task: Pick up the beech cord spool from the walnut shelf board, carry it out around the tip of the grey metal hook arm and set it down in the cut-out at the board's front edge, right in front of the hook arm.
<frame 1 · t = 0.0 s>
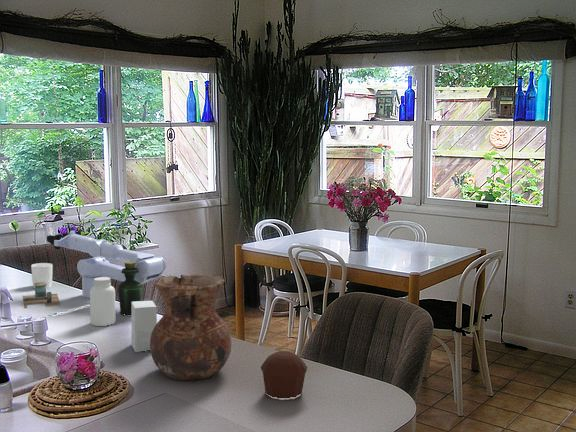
hand: (55, 237, 259), 22 cm above the kitchen counter, tool horizontal, fingers open, 7 cm apart
small box: (144, 348, 196), on the kitchen counter
potion bottle: (130, 314, 233), on the kitchen counter
jug: (191, 372, 177), on the kitchen counter
white cup: (42, 290, 265), on the kitchen counter
spool: (40, 298, 246), point 1 cm above the kitchen counter, touching hook board
muffin: (283, 394, 163), on the kitchen counter
pill bottle: (103, 324, 220), on the kitchen counter
hook board: (41, 304, 243), on the kitchen counter
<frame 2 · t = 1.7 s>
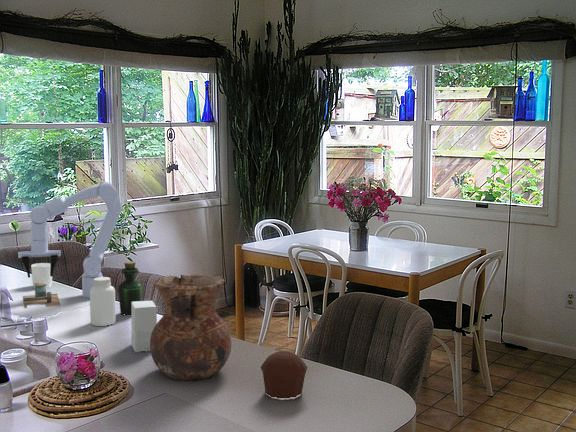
hand: (40, 276, 245), 9 cm above the kitchen counter, tool pointing down, fingers open, 7 cm apart
nothing on the kitchen counter moved.
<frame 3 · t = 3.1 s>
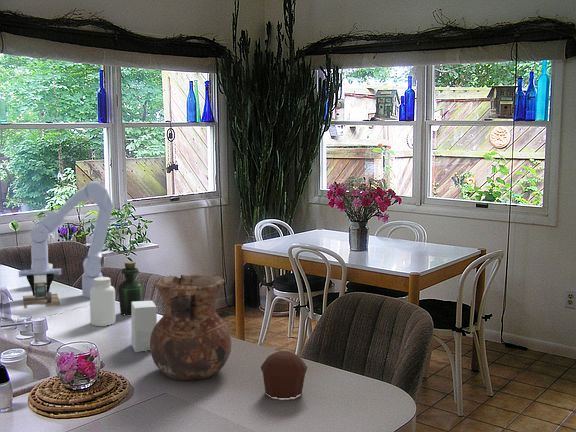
hand: (40, 294, 246), 3 cm above the kitchen counter, tool pointing down, fingers closed on spool, 4 cm apart
spool: (40, 298, 246), point 1 cm above the kitchen counter, touching gripper, hook board
everything else where it was.
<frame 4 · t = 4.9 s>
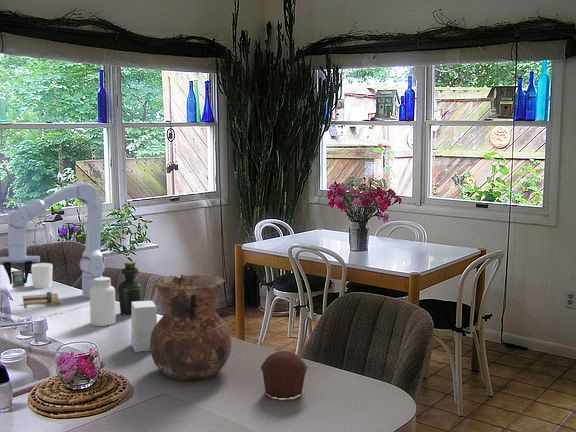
hand: (18, 283, 235), 9 cm above the kitchen counter, tool pointing down, fingers closed on spool, 4 cm apart
spool: (18, 287, 235), point 8 cm above the kitchen counter, touching gripper
everything else where it was.
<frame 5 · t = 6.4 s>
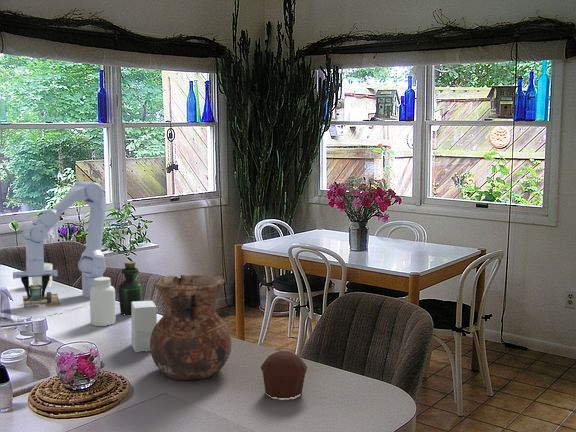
hand: (35, 297, 235), 4 cm above the kitchen counter, tool pointing down, fingers closed on spool, 4 cm apart
spool: (35, 301, 236), point 3 cm above the kitchen counter, touching gripper
everything else where it was.
when the fingers open (2 cm above the kitchen counter, at t = 7.3 s): spool stays where it is, on the kitchen counter.
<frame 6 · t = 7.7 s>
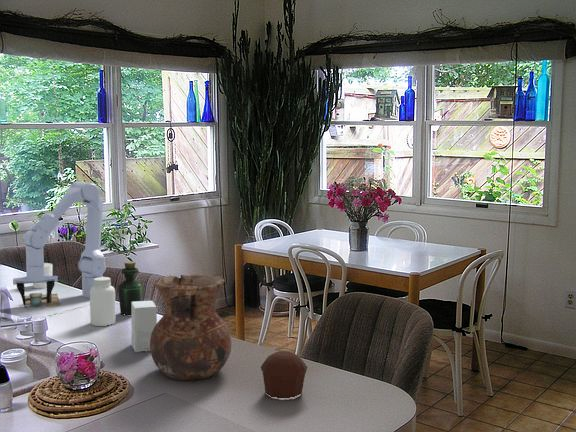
hand: (36, 303, 235), 2 cm above the kitchen counter, tool pointing down, fingers open, 7 cm apart
spool: (36, 309, 236), on the kitchen counter
everything else where it was.
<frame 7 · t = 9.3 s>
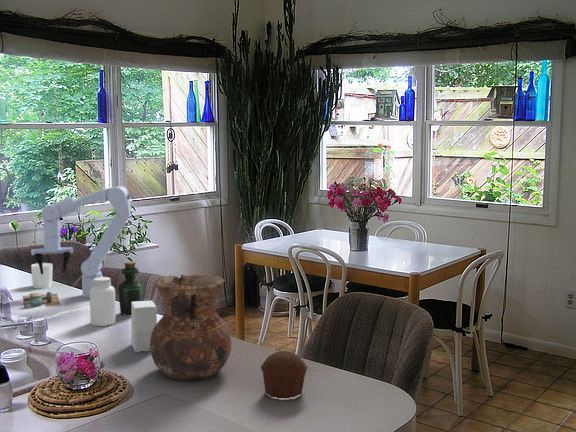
hand: (52, 273, 250), 10 cm above the kitchen counter, tool pointing down, fingers open, 7 cm apart
nothing on the kitchen counter moved.
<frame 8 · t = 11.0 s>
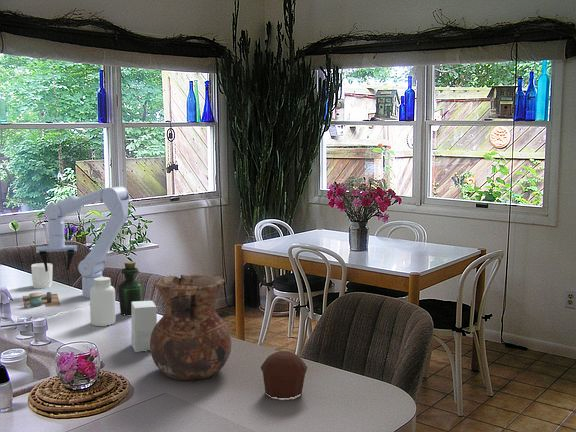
hand: (57, 270, 254), 10 cm above the kitchen counter, tool pointing down, fingers open, 7 cm apart
nothing on the kitchen counter moved.
at the end: spool 0.2 cm from the target spot on the hook board, point 0.0 cm above the hook board's base; spool tilted 0°; the gripper is holding nothing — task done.
